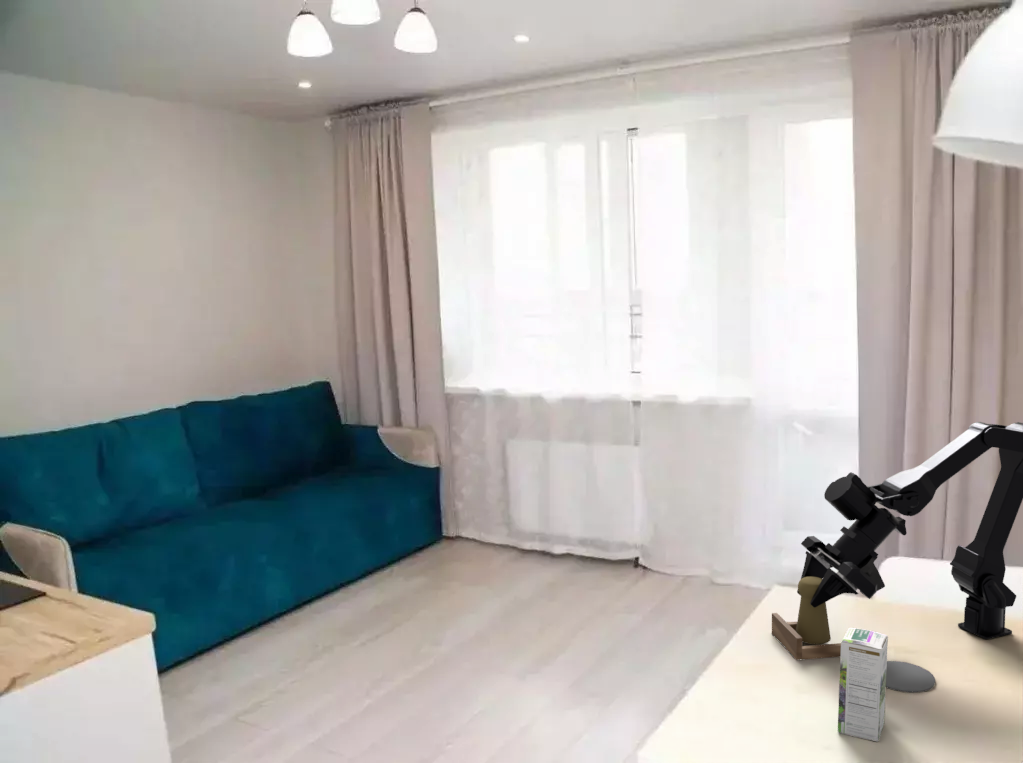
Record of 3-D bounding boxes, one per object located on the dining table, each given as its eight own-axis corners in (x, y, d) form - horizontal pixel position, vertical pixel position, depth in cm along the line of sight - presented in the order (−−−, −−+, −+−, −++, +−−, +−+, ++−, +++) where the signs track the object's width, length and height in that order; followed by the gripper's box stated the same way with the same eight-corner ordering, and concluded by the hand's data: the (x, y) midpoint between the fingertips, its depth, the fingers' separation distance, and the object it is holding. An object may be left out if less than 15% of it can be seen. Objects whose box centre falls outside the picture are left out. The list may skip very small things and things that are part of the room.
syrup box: (844, 715, 132) (846, 625, 130) (886, 724, 129) (888, 632, 127) (837, 733, 127) (838, 640, 125) (880, 743, 124) (882, 648, 122)
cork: (825, 629, 159) (826, 572, 157) (834, 644, 153) (835, 585, 152) (792, 629, 160) (792, 572, 158) (799, 644, 154) (799, 585, 152)
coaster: (902, 659, 150) (902, 656, 149) (949, 685, 140) (949, 682, 140) (855, 670, 146) (855, 667, 146) (900, 697, 137) (900, 694, 137)
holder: (823, 629, 162) (823, 609, 162) (851, 655, 152) (851, 634, 151) (771, 633, 161) (771, 613, 161) (796, 660, 151) (796, 638, 150)
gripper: (923, 582, 147) (861, 649, 147) (868, 547, 165) (812, 607, 166) (880, 541, 145) (817, 610, 146) (829, 510, 163) (773, 571, 164)
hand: (805, 599), depth 155 cm, fingers closed on cork, 5 cm apart
